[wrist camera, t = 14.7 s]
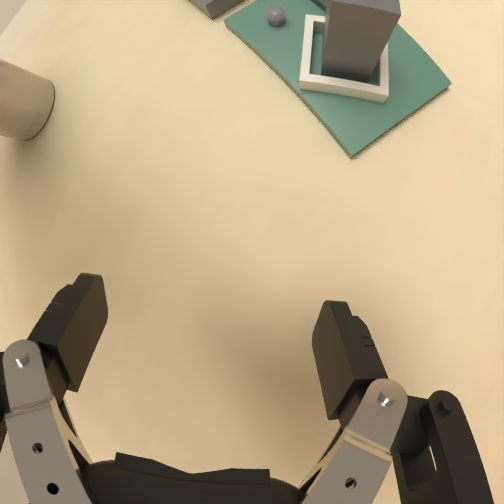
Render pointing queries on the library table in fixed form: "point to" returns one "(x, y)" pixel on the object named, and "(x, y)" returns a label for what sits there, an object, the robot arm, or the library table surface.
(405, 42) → the board
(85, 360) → the robot arm
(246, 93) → the library table surface
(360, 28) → the gray block
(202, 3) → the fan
